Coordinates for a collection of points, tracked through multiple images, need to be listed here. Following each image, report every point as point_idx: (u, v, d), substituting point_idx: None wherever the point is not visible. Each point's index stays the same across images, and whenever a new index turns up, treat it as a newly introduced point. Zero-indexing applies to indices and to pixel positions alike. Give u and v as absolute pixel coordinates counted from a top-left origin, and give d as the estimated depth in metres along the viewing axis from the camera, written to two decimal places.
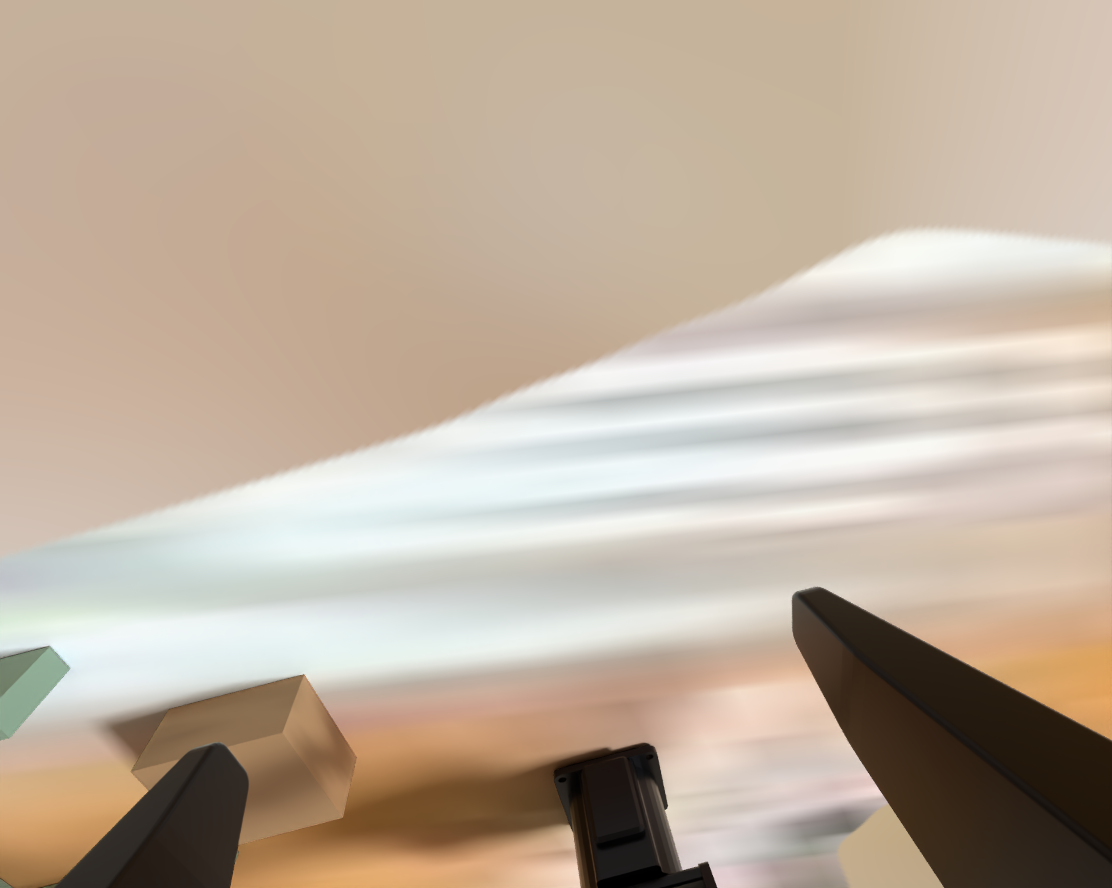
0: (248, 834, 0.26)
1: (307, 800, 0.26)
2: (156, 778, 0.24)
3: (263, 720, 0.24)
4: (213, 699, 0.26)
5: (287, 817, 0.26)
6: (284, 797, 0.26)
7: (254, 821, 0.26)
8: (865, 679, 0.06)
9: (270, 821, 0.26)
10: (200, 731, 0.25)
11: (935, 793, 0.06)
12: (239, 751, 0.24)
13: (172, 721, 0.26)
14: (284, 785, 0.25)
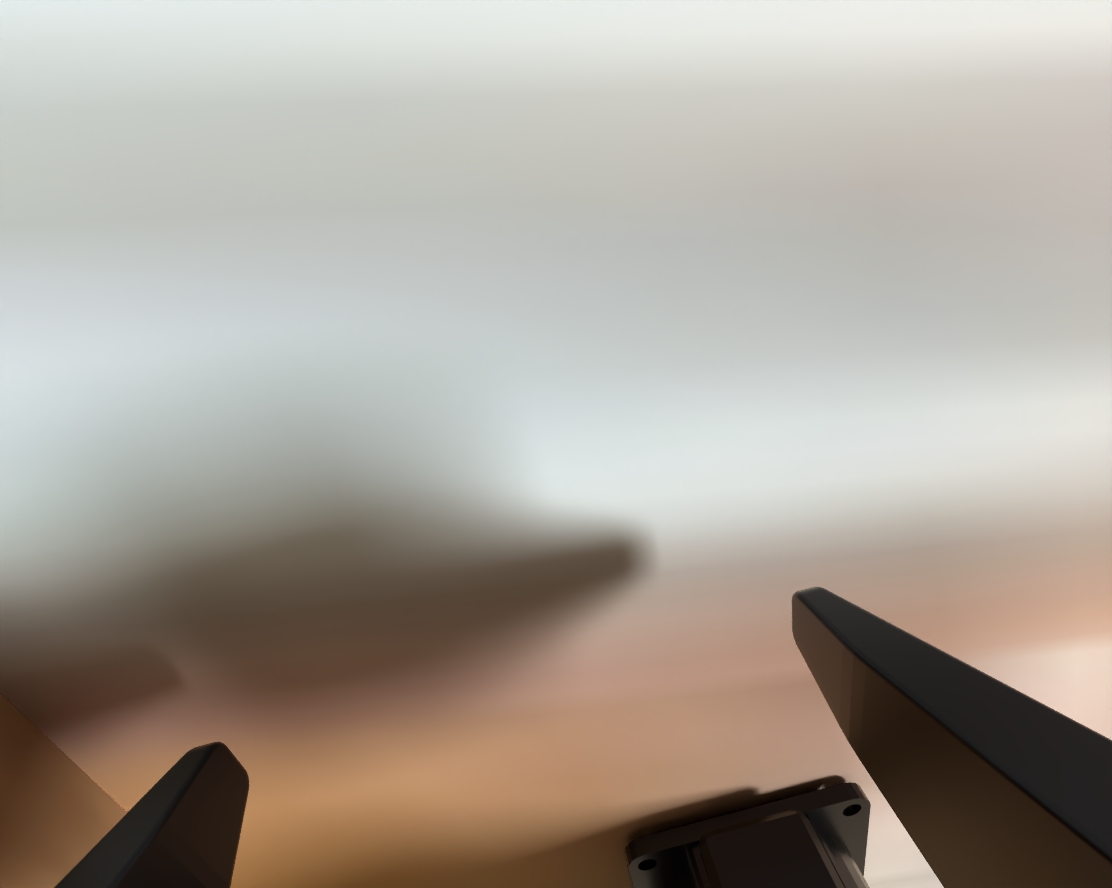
0: None
1: None
2: None
3: None
4: None
5: None
6: None
7: None
8: (865, 679, 0.06)
9: None
10: None
11: (935, 793, 0.06)
12: None
13: None
14: None
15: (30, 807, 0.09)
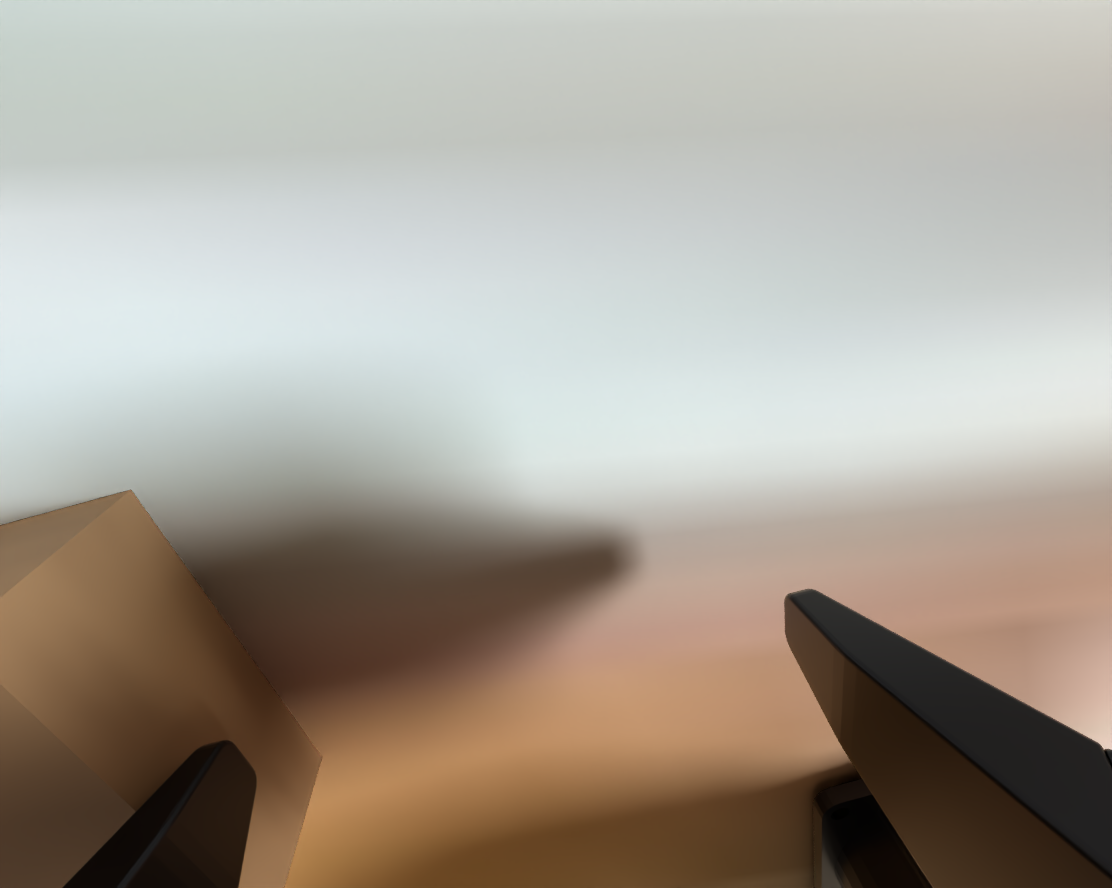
0: None
1: None
2: None
3: None
4: None
5: None
6: (51, 887, 0.07)
7: None
8: (856, 682, 0.06)
9: None
10: None
11: (925, 796, 0.06)
12: None
13: None
14: (40, 849, 0.07)
15: (263, 734, 0.10)
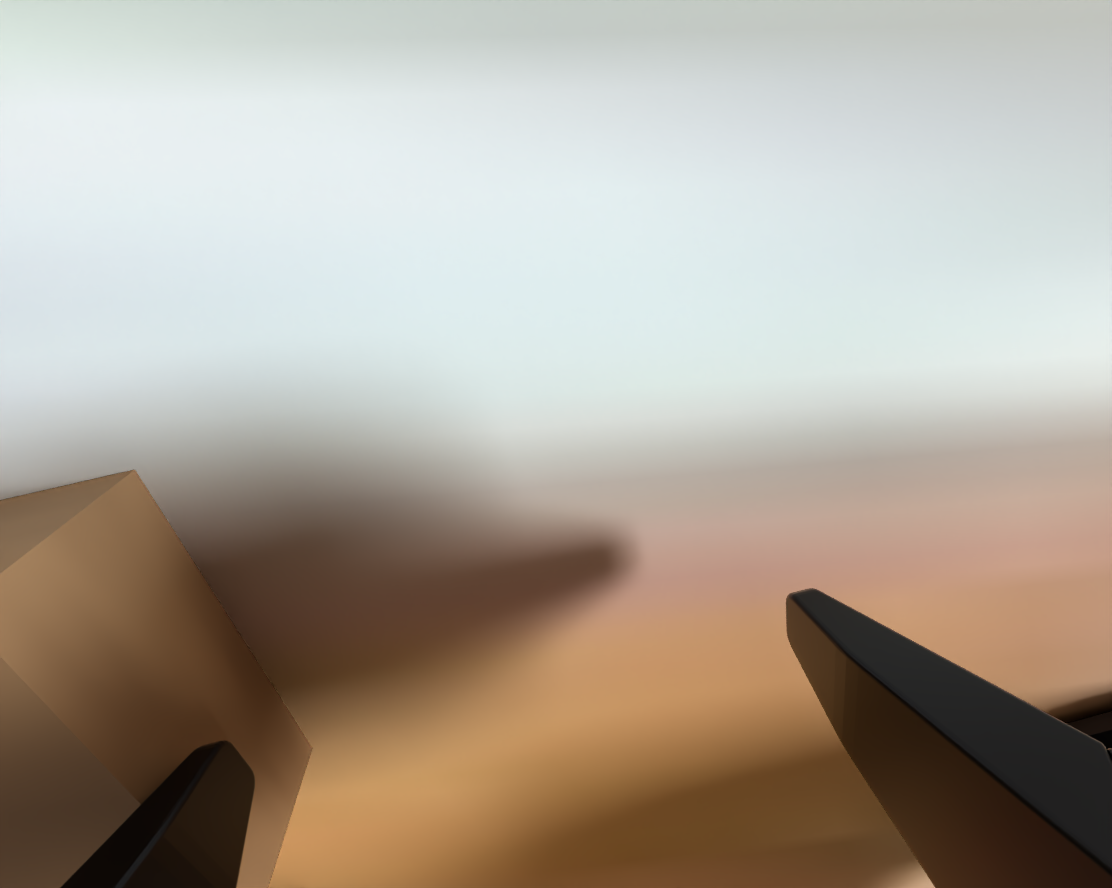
0: None
1: None
2: None
3: None
4: None
5: None
6: (37, 868, 0.07)
7: None
8: (858, 681, 0.06)
9: None
10: None
11: (927, 795, 0.06)
12: None
13: None
14: (28, 829, 0.07)
15: (256, 721, 0.10)
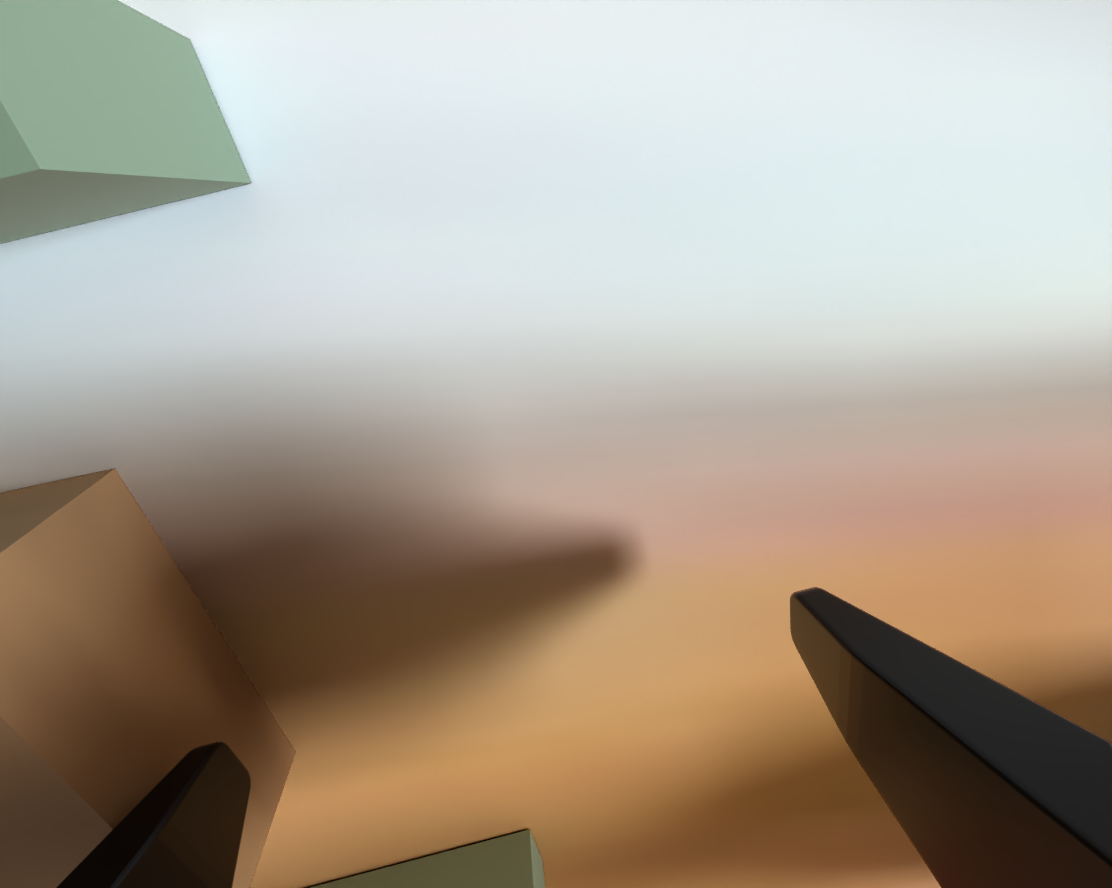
0: None
1: None
2: None
3: None
4: None
5: None
6: None
7: None
8: (863, 680, 0.06)
9: None
10: None
11: (932, 794, 0.06)
12: None
13: None
14: None
15: (234, 732, 0.09)
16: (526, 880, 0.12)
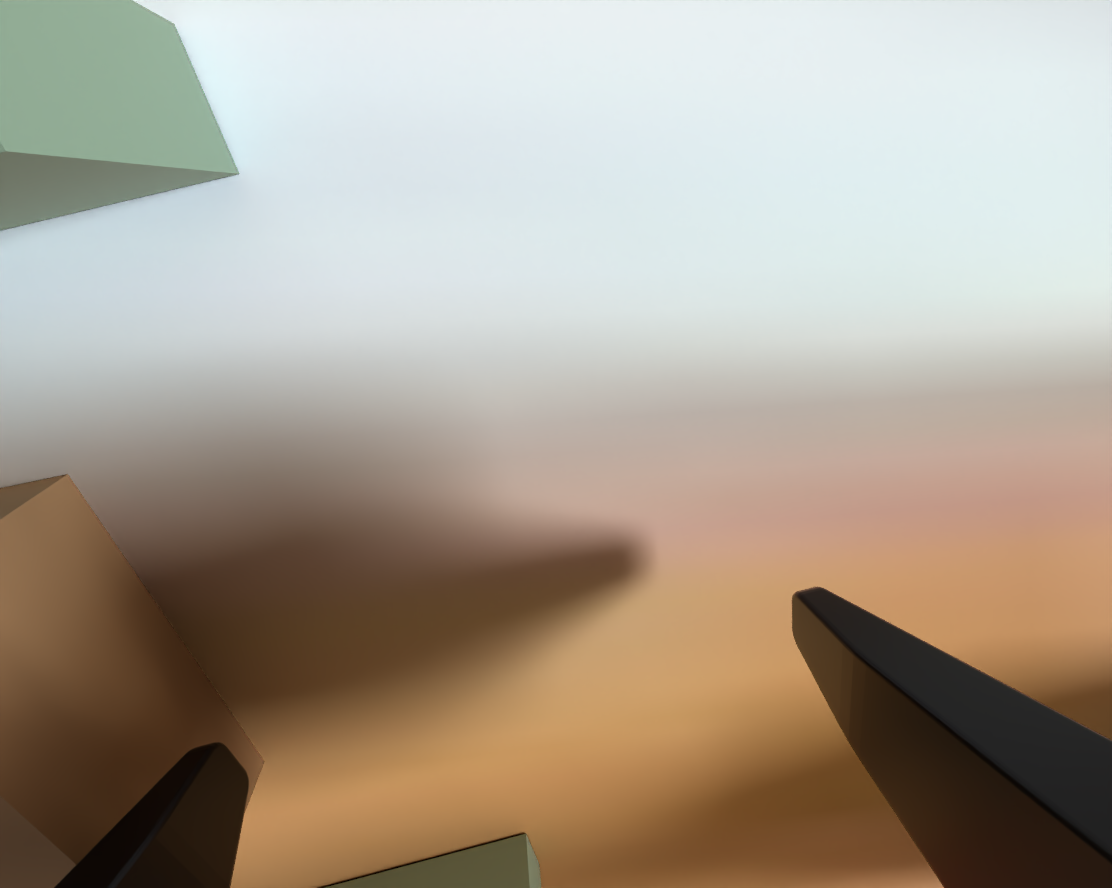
0: None
1: None
2: None
3: None
4: None
5: None
6: None
7: None
8: (865, 679, 0.06)
9: None
10: None
11: (935, 793, 0.06)
12: None
13: None
14: None
15: (196, 743, 0.09)
16: (523, 885, 0.12)
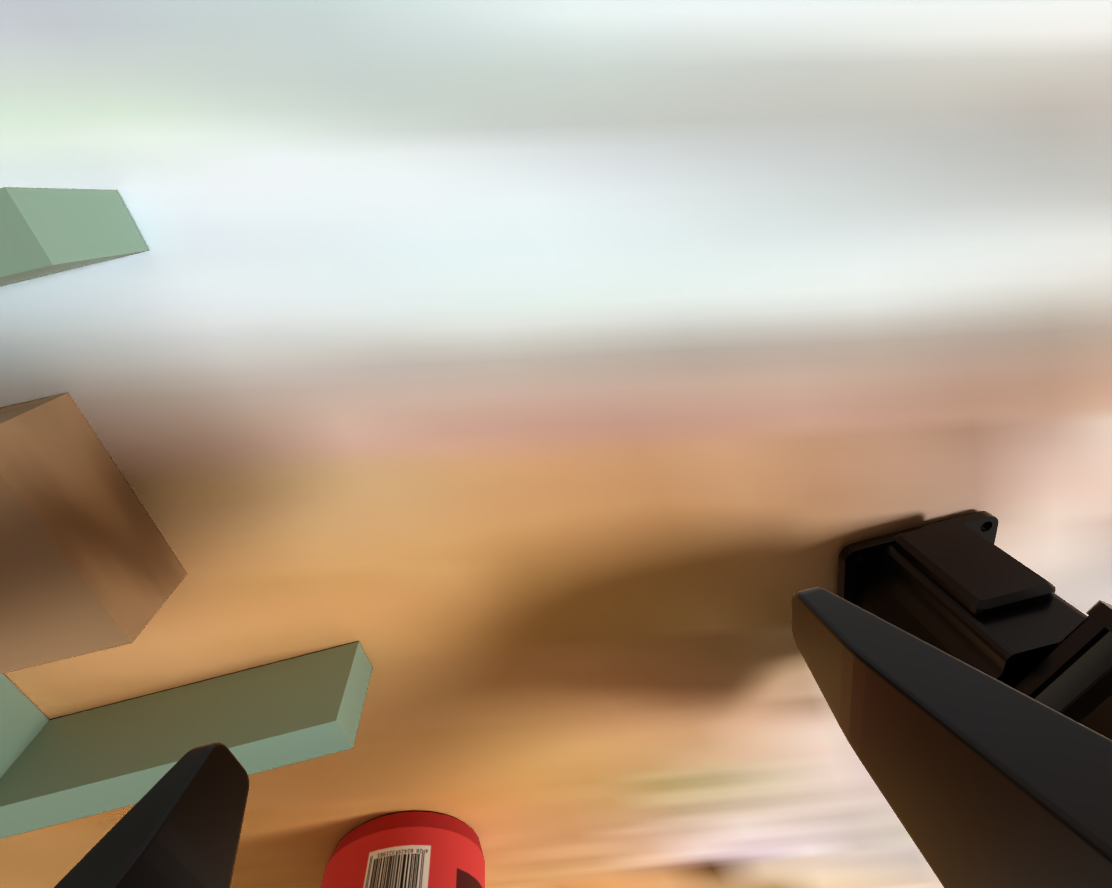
0: None
1: (57, 601, 0.15)
2: None
3: None
4: None
5: (28, 633, 0.15)
6: (11, 590, 0.14)
7: None
8: (865, 679, 0.06)
9: None
10: None
11: (935, 793, 0.06)
12: None
13: None
14: (6, 563, 0.14)
15: (140, 544, 0.17)
16: (348, 663, 0.20)
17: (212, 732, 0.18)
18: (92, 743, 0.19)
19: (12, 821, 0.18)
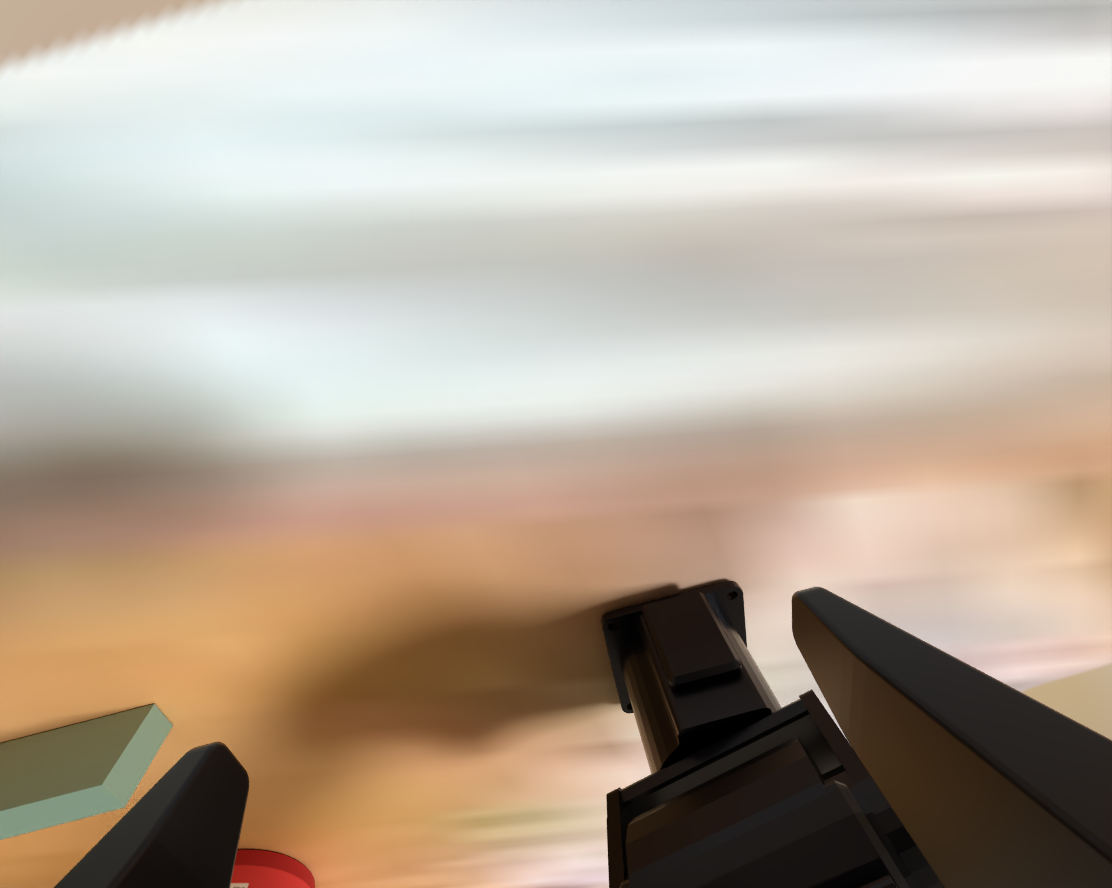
0: None
1: None
2: None
3: None
4: None
5: None
6: None
7: None
8: (865, 679, 0.06)
9: None
10: None
11: (935, 793, 0.06)
12: None
13: None
14: None
15: None
16: (136, 726, 0.22)
17: None
18: None
19: None
